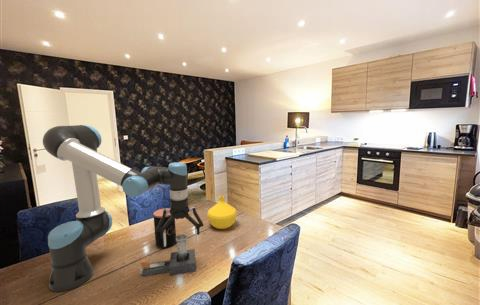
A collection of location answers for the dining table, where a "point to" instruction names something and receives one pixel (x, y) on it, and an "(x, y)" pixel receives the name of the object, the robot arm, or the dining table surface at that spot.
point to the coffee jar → (169, 230)
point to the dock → (175, 265)
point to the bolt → (150, 265)
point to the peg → (182, 247)
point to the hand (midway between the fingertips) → (180, 243)
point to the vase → (222, 214)
